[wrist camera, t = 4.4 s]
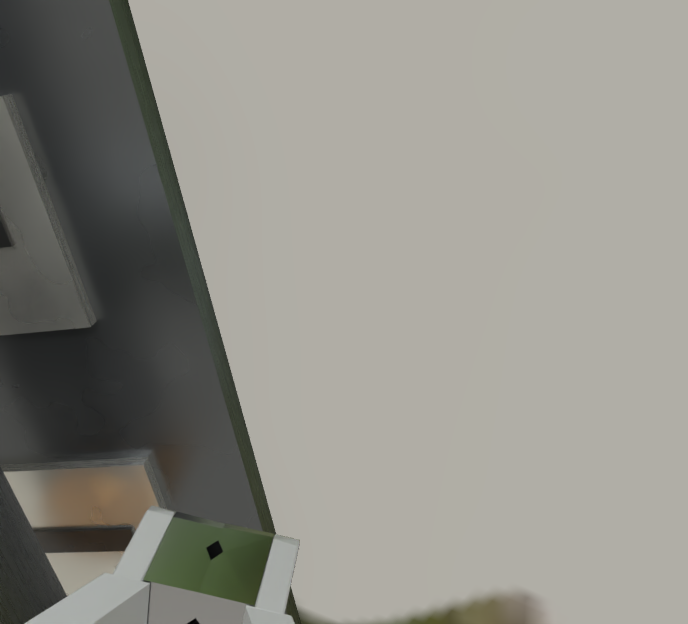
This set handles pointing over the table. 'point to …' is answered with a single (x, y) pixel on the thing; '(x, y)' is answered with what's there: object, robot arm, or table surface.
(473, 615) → the table surface
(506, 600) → the table surface
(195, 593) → the robot arm
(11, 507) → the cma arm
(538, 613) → the table surface
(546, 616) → the table surface
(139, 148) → the plate
